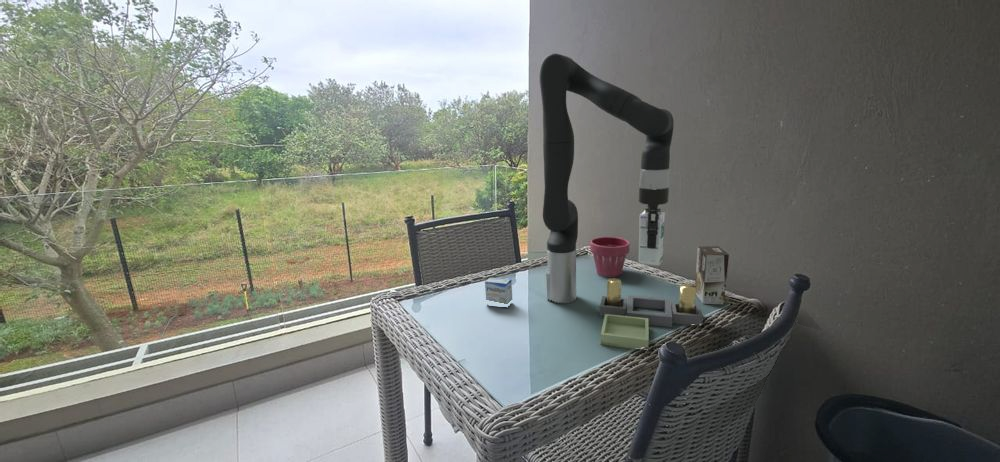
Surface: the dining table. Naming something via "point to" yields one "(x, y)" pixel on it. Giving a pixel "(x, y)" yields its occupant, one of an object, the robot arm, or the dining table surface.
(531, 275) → the dining table surface
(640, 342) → the tray
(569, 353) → the dining table surface
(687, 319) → the socket block
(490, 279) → the medicine box
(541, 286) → the dining table surface
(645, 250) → the syrup box
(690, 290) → the right brass peg
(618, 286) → the left brass peg
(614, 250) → the plant pot
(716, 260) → the coffee box
